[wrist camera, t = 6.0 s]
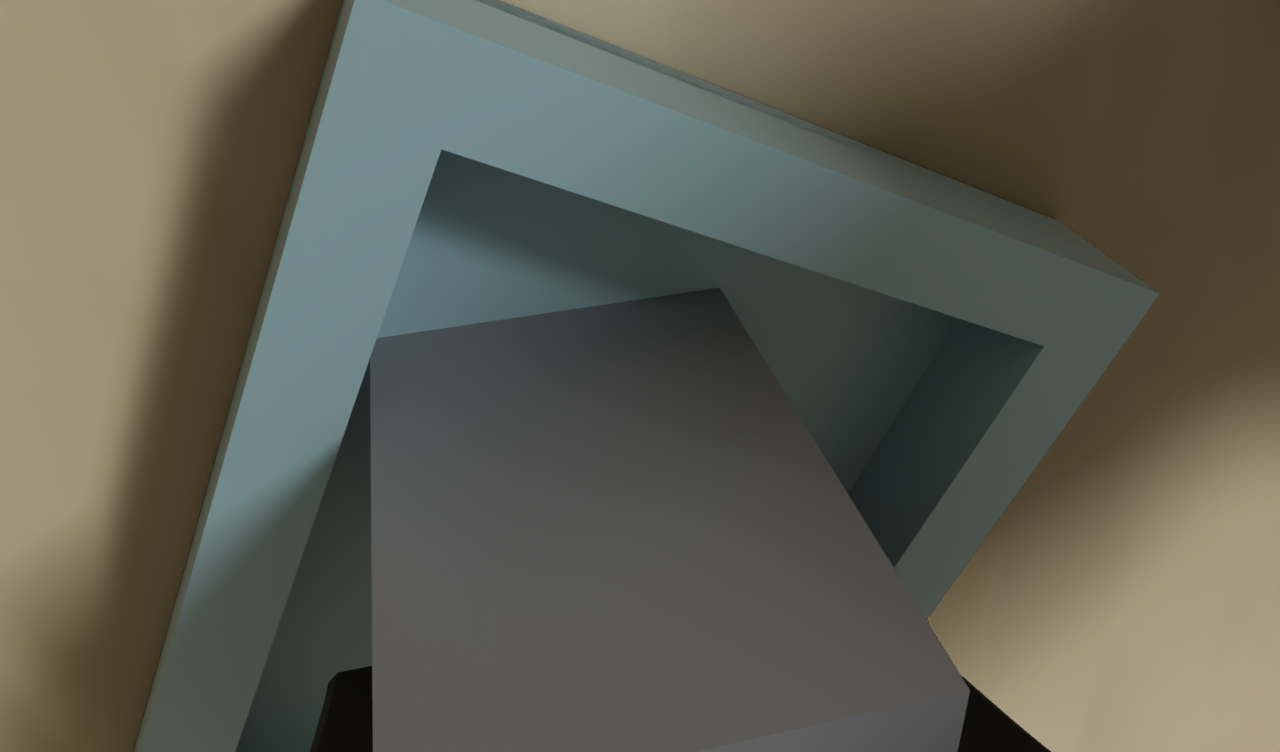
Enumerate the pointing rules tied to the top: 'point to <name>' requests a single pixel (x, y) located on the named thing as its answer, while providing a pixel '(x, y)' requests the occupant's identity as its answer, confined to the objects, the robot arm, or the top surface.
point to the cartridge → (627, 550)
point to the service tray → (597, 275)
